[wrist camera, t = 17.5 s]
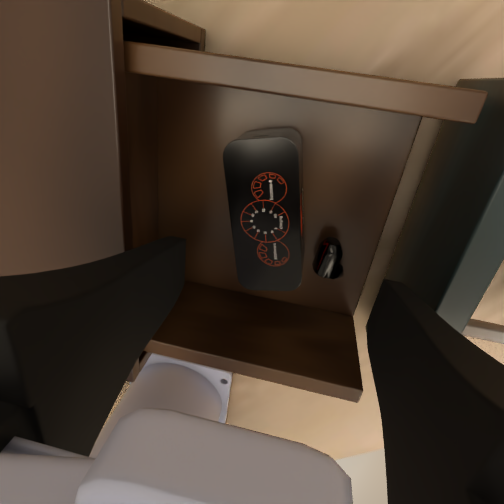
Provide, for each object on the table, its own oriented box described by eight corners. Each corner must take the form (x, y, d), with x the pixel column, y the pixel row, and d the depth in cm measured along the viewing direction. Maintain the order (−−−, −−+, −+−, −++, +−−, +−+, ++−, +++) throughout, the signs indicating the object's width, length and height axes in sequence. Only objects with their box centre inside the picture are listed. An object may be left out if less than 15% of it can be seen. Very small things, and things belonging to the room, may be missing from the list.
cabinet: (205, 29, 15) (108, -16, 8) (192, 289, 21) (133, 383, 15) (-89, -10, 16) (-376, -75, 10) (-16, 243, 23) (-155, 310, 16)
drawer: (641, 103, 13) (879, 118, 7) (484, 353, 19) (550, 461, 13) (150, 36, 15) (51, 9, 9) (153, 281, 21) (95, 349, 15)
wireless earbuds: (253, 269, 18) (240, 304, 15) (239, 129, 15) (220, 140, 12) (342, 270, 17) (347, 308, 14) (348, 122, 14) (355, 131, 11)
